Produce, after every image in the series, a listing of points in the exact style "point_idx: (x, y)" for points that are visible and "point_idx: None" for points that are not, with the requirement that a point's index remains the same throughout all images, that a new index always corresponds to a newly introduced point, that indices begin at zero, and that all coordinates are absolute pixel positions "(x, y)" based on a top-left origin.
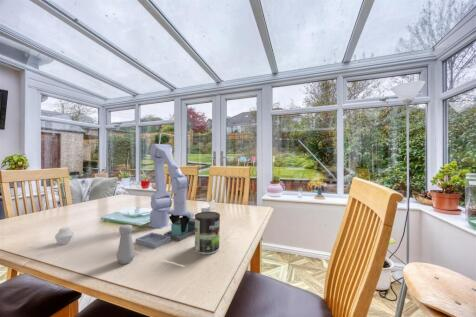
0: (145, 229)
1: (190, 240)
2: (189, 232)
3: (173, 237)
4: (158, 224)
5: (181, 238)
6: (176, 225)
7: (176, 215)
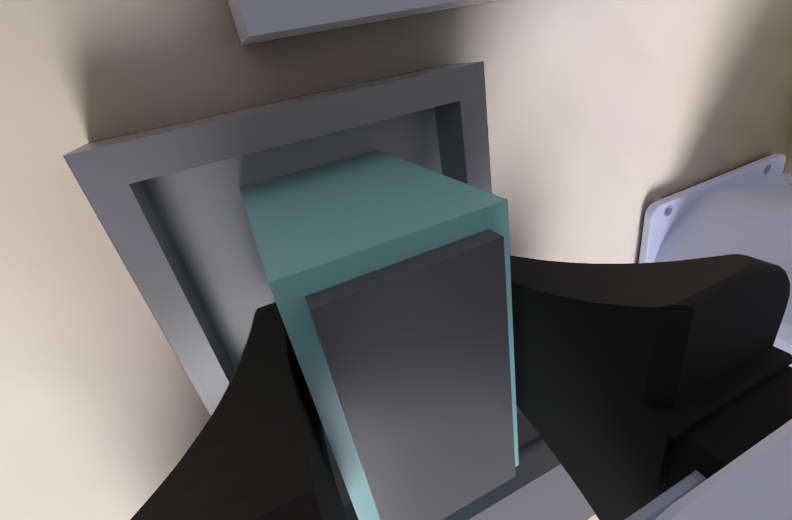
0: (763, 86)
1: (33, 313)
2: (219, 401)
3: (257, 111)
4: (726, 212)
5: (97, 195)
6: (328, 257)
7: (660, 477)
